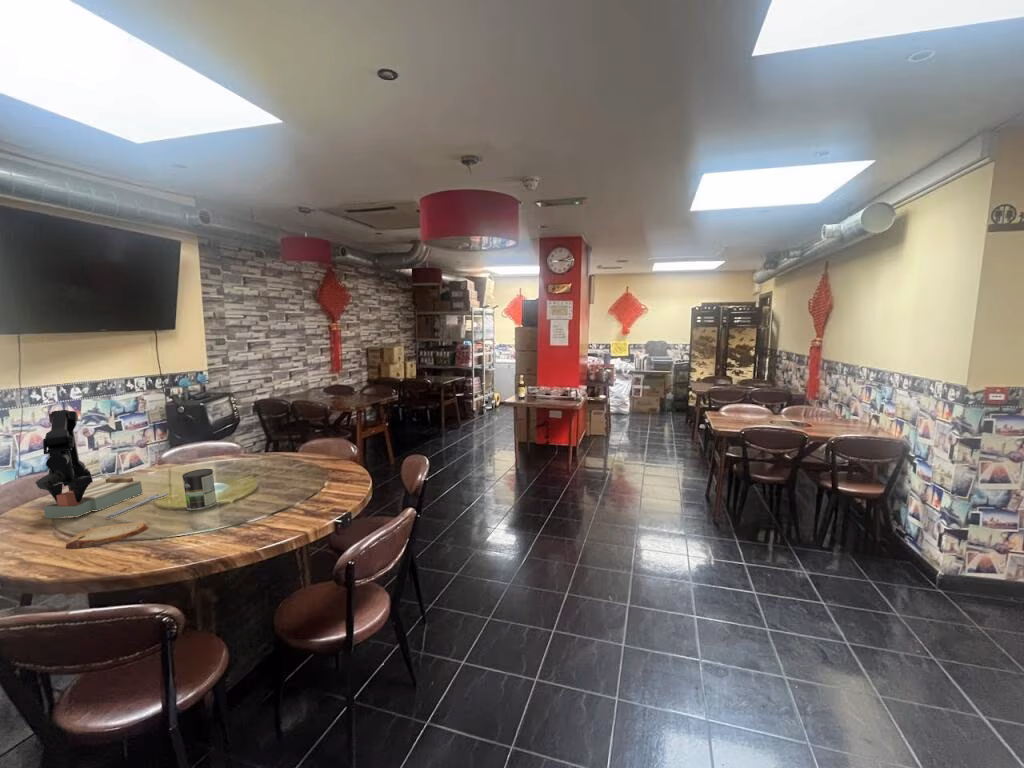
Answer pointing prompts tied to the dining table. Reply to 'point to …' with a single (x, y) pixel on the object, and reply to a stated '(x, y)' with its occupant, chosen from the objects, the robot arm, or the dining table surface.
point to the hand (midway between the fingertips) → (68, 502)
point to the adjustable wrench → (137, 504)
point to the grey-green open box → (92, 503)
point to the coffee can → (199, 489)
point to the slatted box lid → (107, 487)
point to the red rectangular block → (67, 499)
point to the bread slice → (105, 534)
